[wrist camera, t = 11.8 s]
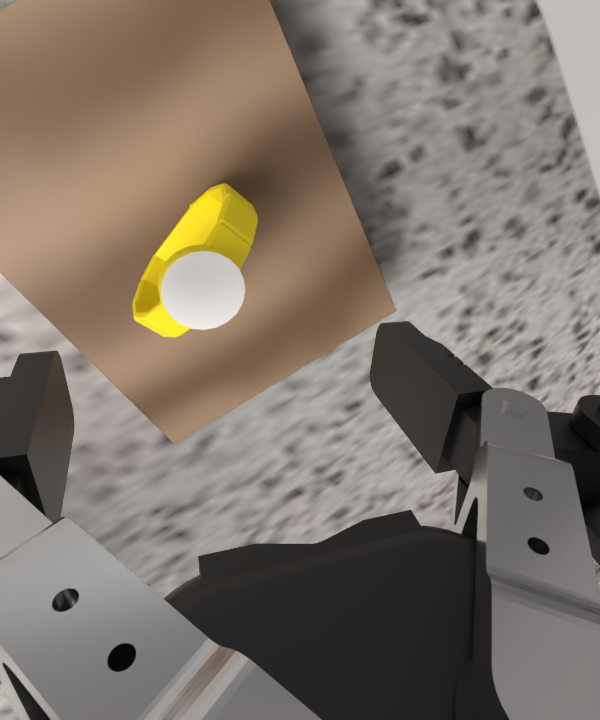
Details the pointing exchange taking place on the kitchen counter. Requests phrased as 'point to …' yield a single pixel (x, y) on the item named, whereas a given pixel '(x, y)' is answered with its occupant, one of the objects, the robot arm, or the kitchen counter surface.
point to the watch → (199, 266)
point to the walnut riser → (173, 193)
